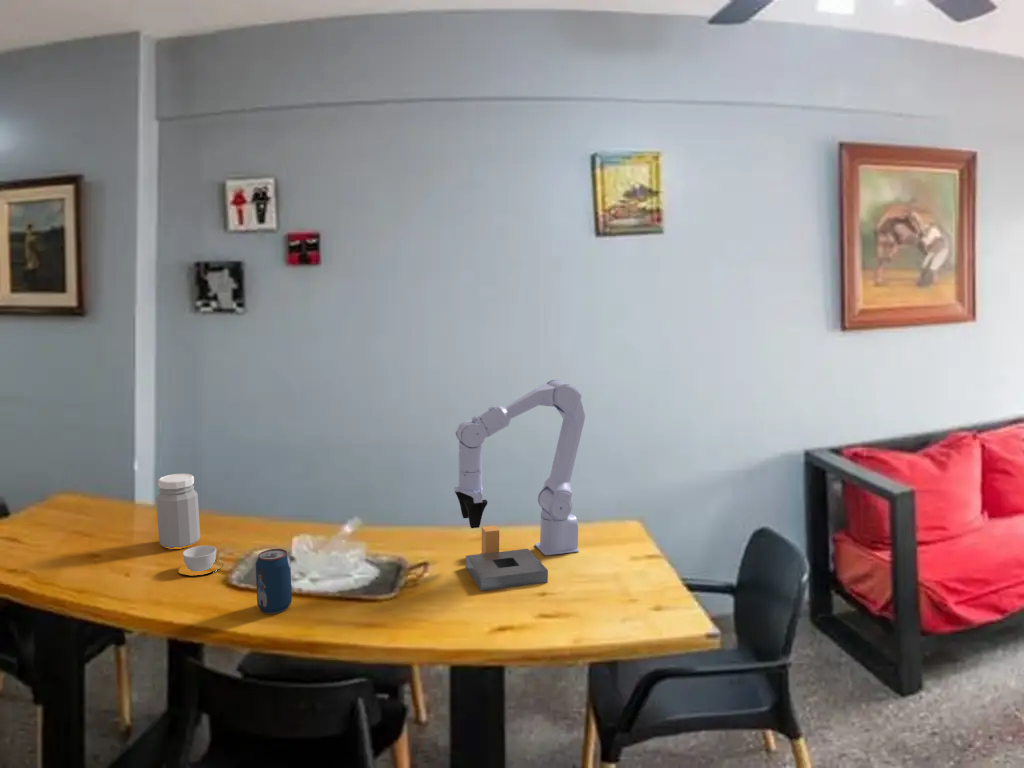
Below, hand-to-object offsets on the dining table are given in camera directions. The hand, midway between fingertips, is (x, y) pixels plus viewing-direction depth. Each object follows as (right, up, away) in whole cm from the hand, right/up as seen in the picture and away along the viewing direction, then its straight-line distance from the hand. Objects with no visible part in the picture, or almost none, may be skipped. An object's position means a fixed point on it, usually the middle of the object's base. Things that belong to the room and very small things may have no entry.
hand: (471, 522), depth 176 cm
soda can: (-40, -13, -27) cm, 50 cm away
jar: (-77, -8, +9) cm, 78 cm away
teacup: (-65, -10, -7) cm, 66 cm away
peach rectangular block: (+5, -9, +3) cm, 11 cm away
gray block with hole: (+9, -11, -9) cm, 16 cm away
